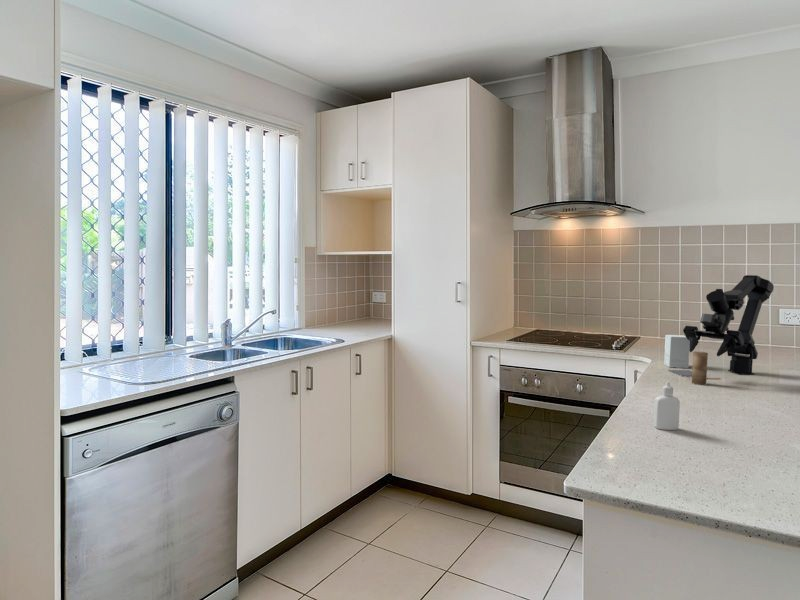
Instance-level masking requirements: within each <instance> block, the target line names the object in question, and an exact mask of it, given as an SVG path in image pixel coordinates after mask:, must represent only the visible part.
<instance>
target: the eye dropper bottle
mask: <svg viewBox="0 0 800 600" xmlns="http://www.w3.org/2000/svg"><path fill="white" fill-rule="evenodd" d="M661 394H662V395H659V396H657V397H655V399H654V408H653V409H654V410H653V411H654V412H653V427H655V428H656V429H657V430H662V431H677V430H678V429H679V426H680V424H679V423H680V399H679V398H677V397H675V396H674V387H673V386H672V385H671V382H670V381H666V383H665V385H664V386H663V385H662V392H661Z"/></svg>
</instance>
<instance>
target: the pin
mask: <svg viewBox="0 0 800 600" xmlns="http://www.w3.org/2000/svg"><path fill="white" fill-rule="evenodd" d="M708 355H709V353H708V352H705V351H692V370H691V371H692V379H691V384H693V383H695V384H694V385H697V384H701V385H700V386H706V385H707V379H706V378H708V375H707V373H708ZM705 384H706V385H705Z"/></svg>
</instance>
